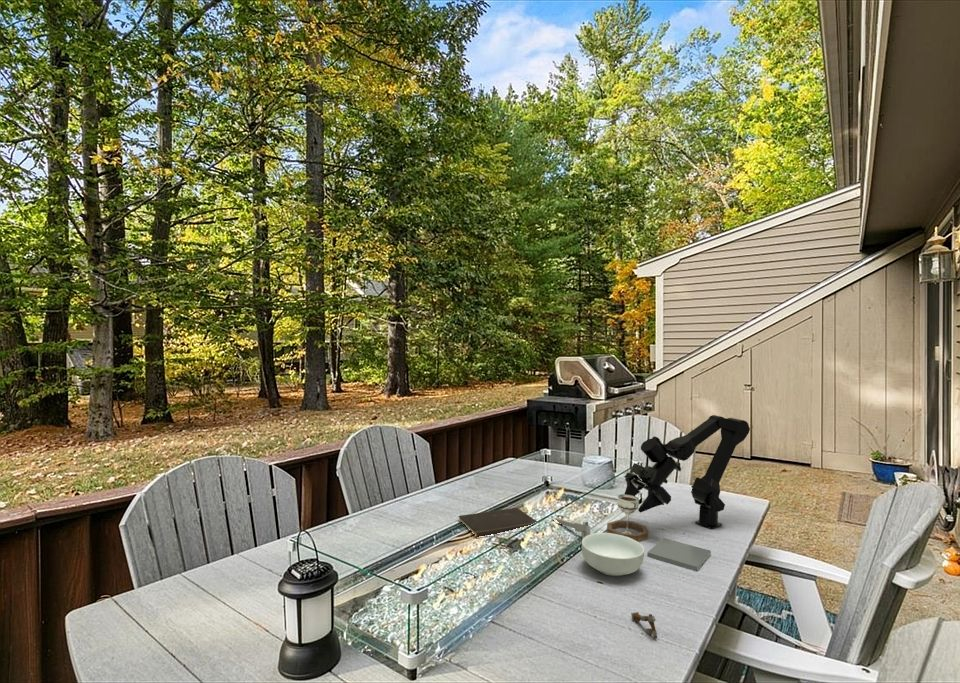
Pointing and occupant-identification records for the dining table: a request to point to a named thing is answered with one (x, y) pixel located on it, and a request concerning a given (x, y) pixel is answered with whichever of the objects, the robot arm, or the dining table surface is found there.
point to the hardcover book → (496, 521)
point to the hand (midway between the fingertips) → (630, 506)
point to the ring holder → (631, 525)
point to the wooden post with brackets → (646, 618)
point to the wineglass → (627, 506)
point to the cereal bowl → (612, 553)
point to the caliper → (576, 526)
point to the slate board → (679, 554)
